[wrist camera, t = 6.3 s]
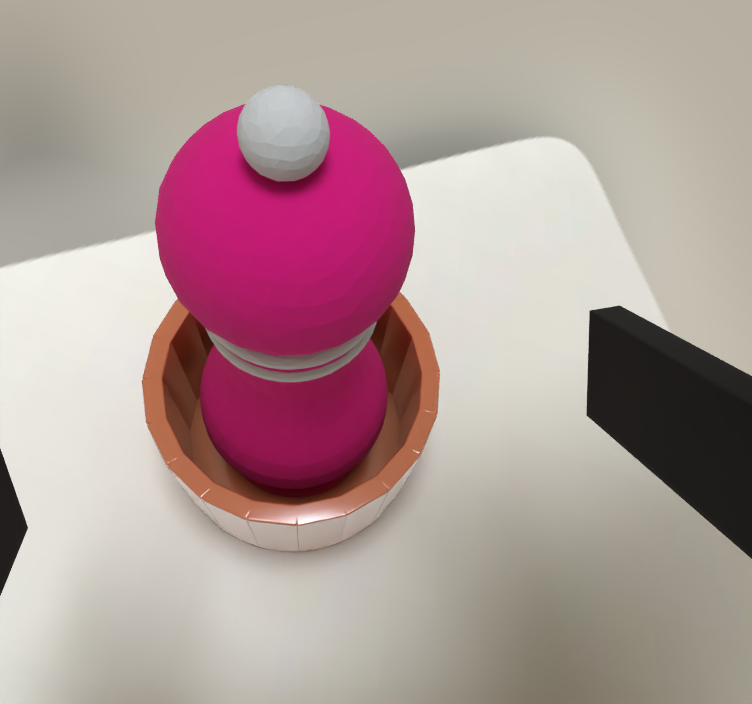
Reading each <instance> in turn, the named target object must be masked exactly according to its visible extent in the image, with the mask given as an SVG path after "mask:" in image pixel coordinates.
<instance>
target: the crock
mask: <svg viewBox="0 0 752 704" xmlns="http://www.w3.org/2000/svg"><path fill="white" fill-rule="evenodd" d="M370 339H371V340H372V342H373V344H374V345H375V347H376V349H377V351H378V353H379V355H380V357H381V360H382V363H383V365H384V368H385V372H386V378H387V384H388V393H387V408H386V415H385V419H384V424H383V427H382V429H381V432H380V434H379V437H378V439H377V440H376V442H375V444H374V445H373V447H372V448H371V450H370V451H369V452H368V454H367V455H366V456H365V457H364V458H363V459H362V460H361V462H360V463H358V464H357V465H356V466H355V467H354V468H353V469H352V470H351V471H350V472H349V474H348V475H347V476H346V477H345V478H344V479H343V480H342V481H340V482H339V483H337V484H336V485H335V486H333V487H331V488H329V489H327V490H326V491H323V492H321V493H318V494H315V495H311V496H305V497H285V496H279V495H275V494H271V493H269V492H267V491H264V490H262V489H260V488H259V487H257V486H255V485H254V484H253V483H251V482H250V481H249V480H247V479H246V478H245V476H244V475H242V474H241V473H239V472H238V471H236V470H235V469H234V468H233V467H232V466H231V465H229V464H228V463H227V462H226V461H225V460H224V459H223V458H222V456H221V455H220V454H219V453H218V451H217V450H216V449H215V447H214V445H213V444H212V442H211V440H210V438H209V436H208V434H207V430H206V427H205V424H204V421H203V417H202V412H201V402H200V383H201V377H202V372H203V369H204V366H205V364H206V361H207V358H208V356H209V353H210V351H211V349H212V347H213V346H214V343H213V342H212V341H211V339H210V337H209V335H208V333H207V331H206V329H205V327H204V326H203V325H202V324H201V323H200V322H199V321H198V320H197V319H196V318H195V317H194V316H193V315H192V314H191V313H190V312H189V311H188V310H187V309H186V308H185V307H184V306H183V305H182V304H181V303H180V301H179V299H177V301H175V303H174V304H173V306H172V307H171V309H170V310H169V312H168V314H167V315H166V317H165V318H164V320H163V321H162V323H161V324H160V326H159V328H158V329H157V331H156V332H155V334H154V335H153V339H152V342H151V346H150V350H149V354H148V358H147V362H146V366H145V370H144V374H143V380H142V387H143V397H144V407H145V417H146V423H147V427H148V429H149V431H150V433H151V435H152V437H153V439H154V441H155V443H156V445H157V447H158V450H159V452H160V454H161V456H162V458H163V460H164V462H165V464H166V465H167V467H168V468H169V470H170V471H171V472H172V473H173V475H174V476H175V477H176V479H177V480H178V481H179V483H180V484H181V485H182V487H183V488H184V489H185V491H186V492H187V493H188V495H189V496H190V497H191V498H192V500H193V501H194V502H195V504H196V505H197V506H198V507H199V508H200V509H201V510H202V511H203V512H204V513H205V514H206V515H207V516H208V517H209V518H210V519H211V520H212V521H213V522H214V523H216V524H217V525H218V526H219V527H220V528H221V529H222V530H224V531H225V532H227V533H229V534H230V535H232V536H234V537H236V538H238V539H240V540H242V541H244V542H246V543H249V544H252V545H255V546H258V547H261V548H266V549H271V550H276V551H289V552H296V551H310V550H315V549H320V548H324V547H328V546H331V545H333V544H337V543H339V542H342V541H344V540H346V539H348V538H350V537H352V536H354V535H355V534H357V533H358V532H360V531H361V530H363V529H364V528H366V527H367V526H369V525H370V524H372V522H374V521H375V520H376V519H377V518H378V517H379V516H380V515H381V513H382V512H383V511H384V510H385V509H386V508H387V506H388V505H389V504H390V503H391V502H392V500H393V499H394V498H395V497H396V496H397V495H398V493H399V491H400V490H401V488H402V486H403V484H404V483H405V481H406V479H407V478H408V476H409V474H410V473H411V471H412V469H413V467H414V466H415V464H416V462H417V461H418V459H419V457H420V455H421V454H422V451H423V449H424V446H425V444H426V441H427V439H428V437H429V434H430V432H431V429H432V427H433V425H434V422H435V420H436V417H437V413H438V397H439V380H440V373H439V372H440V370H439V366H438V363H437V359H436V356H435V352H434V348H433V345H432V341H431V338H430V334H429V332H428V330H427V329H426V327H425V326H424V324H423V323H422V321H421V320H420V318H419V317H418V315H417V314H416V312H415V311H414V309H413V308H412V306H411V305H410V303H409V302H408V300H407V299H406V298H405V297H404V295H402V294H401V293H400V292H399V294H398V296H397V297H396V298H395V300H394V301H393V302H392V303H391V305H390V306H389V307H388V308H387V310H386V311H385V312H384V313H383V315H382V316H381V317H380V318H379V320H377V323H376V326H375V328H374V331H373V333H372V335H371V337H370Z"/></svg>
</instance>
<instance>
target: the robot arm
mask: <svg viewBox="0 0 752 704" xmlns="http://www.w3.org/2000/svg"><path fill="white" fill-rule="evenodd" d="M587 416H588V417H589V418H590V419H592V420H593V421H594V422H595V423H596V424H597V425H598V426H600V427H601V428H602V429H603V430H604V431H605V432H606V433H608V434H609V435H610V436H611V437H612V438H613V439H615V440H616V441H617V442H618V443H619V444H620V445H621V446H623V447H624V448H625V449H626V450H627V451H628V452H629V453H631V454H632V455H633V456H634V457H635V458H636V459H638V460H639V461H640V462H641V463H642V464H643V465H644V466H646V467H647V468H648V469H649V470H650V471H651V472H652V473H654V474H655V475H656V476H657V477H658V478H659V479H661V480H662V481H663V482H664V483H665V484H666V485H667V486H669V487H670V488H671V489H672V490H673V491H674V492H676V493H677V494H678V495H679V496H680V497H681V498H682V499H684V500H685V501H686V502H687V503H688V504H689V505H690V506H692V507H693V508H694V509H695V510H696V511H697V512H699V513H700V514H701V515H702V516H703V517H704V518H705V519H707V520H708V521H709V522H710V523H711V524H712V525H713V526H715V527H716V528H717V529H718V530H719V531H720V532H722V533H723V534H724V535H725V536H726V537H727V538H728V539H730V540H731V541H732V542H733V543H734V544H735V545H736V546H738V547H739V548H740V549H741V550H742V551H743V552H745V553H746V554H747V555H748V556H749V557H750V558H751V559H752V376H750V375H749V374H746V373H745V372H743V371H741V370H739V369H737V368H735V367H734V366H732V365H730V364H728V363H726V362H724V361H722V360H720V359H719V358H717V357H715V356H713V355H711V354H709V353H707V352H706V351H704V350H702V349H700V348H698V347H696V346H694V345H692V344H691V343H689V342H687V341H685V340H683V339H681V338H679V337H677V336H676V335H674V334H672V333H670V332H668V331H666V330H664V329H662V328H661V327H659V326H657V325H655V324H653V323H651V322H649V321H647V320H646V319H644V318H642V317H640V316H638V315H636V314H634V313H632V312H631V311H629V310H627V309H625V308H623V307H621V306H614V307H609V308H603V309H597V310H591V311H590V320H589V353H588V385H587ZM27 529H28V527H27V524H26V521H25V518H24V515H23V512H22V509H21V506H20V504H19V501H18V498H17V495H16V492H15V489H14V486H13V483H12V481H11V478H10V475H9V472H8V469H7V466H6V463H5V461H4V458H3V455H2V452H1V449H0V595H1V593H2V590H3V588H4V585H5V583H6V581H7V578H8V576H9V573H10V571H11V568H12V566H13V563H14V561H15V558H16V556H17V553H18V551H19V548H20V546H21V544H22V541H23V539H24V536H25V534H26V531H27Z"/></svg>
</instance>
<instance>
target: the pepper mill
mask: <svg viewBox="0 0 752 704" xmlns="http://www.w3.org/2000/svg"><path fill="white" fill-rule="evenodd" d="M155 225H156V234H157V241H158V249H159V256H160V260H161V263H162V266H163V269H164V272H165V275H166V277H167V279H168V281H169V283H170V285H171V286H172V288H173V290H174V292H175V294H176V295H177V297H178V299H179V301H180V303H181V304H182V305H183V306H184V307H185V308H186V309H187V310H188V311H189V312H190V313H191V314H192V315H193V316H194V317H195V318H196V319H197V320H198V321H199V322H200V323H201V324H202V325H203V326H204V327H205V329H206V331H207V333H208V335H209V337H210V339H211V341H212V342H213V343H214V346H213V347H212V349H211V351H210V353H209V356H208V358H207V361H206V364H205V366H204V369H203V372H202V377H201V383H200V402H201V412H202V417H203V421H204V424H205V427H206V430H207V434H208V436H209V438H210V440H211V442H212V444H213V445H214V447H215V449H216V450H217V451H218V453H219V454H220V455H221V456H222V458H223V459H224V460H225V461H226V462H227V463H228V464H229V465H231V466H232V467H233V468H234V469H235V470H236V471H238V472H239V473H241V474H242V475H244V476H245V478H246V479H247V480H249V481H250V482H251V483H253V484H254V485H255V486H257V487H259V488H260V489H262V490H264V491H267V492H269V493H271V494H275V495H279V496H285V497H305V496H311V495H315V494H318V493H321V492H323V491H326V490H327V489H329V488H331V487H333V486H335V485H336V484H337V483H339V482H340V481H342V480H343V479H344V478H345V477H346V476H347V475H348V474H349V472H350V471H351V470H352V469H353V468H354V467H355V466H356V465H357V464H358V463H360V462H361V460H362V459H363V458H364V457H365V456H366V455H367V454H368V452H369V451H370V450H371V448H372V447H373V445H374V444H375V442H376V440H377V439H378V437H379V434H380V432H381V429H382V427H383V424H384V419H385V415H386V408H387V393H388V384H387V378H386V372H385V368H384V365H383V363H382V360H381V357H380V355H379V353H378V351H377V349H376V347H375V345H374V344H373V342H372V340H371V339H370V337H371V335H372V333H373V331H374V328H375V326H376V323H377V320H379V318H380V317H381V316H382V315H383V313H384V312H385V311H386V310H387V308H388V307H389V306H390V305H391V303H392V302H393V301H394V300H395V298H396V297H397V296H398V294H399V292H400V289H401V287H402V285H403V283H404V281H405V278H406V275H407V271H408V268H409V265H410V261H411V258H412V255H413V245H414V235H415V225H414V213H413V203H412V200H411V197H410V194H409V190H408V187H407V184H406V181H405V178H404V176H403V175H402V173H401V171H400V169H399V167H398V165H397V163H396V162H395V160H394V159H393V157H392V156H391V154H390V153H389V151H388V150H387V149H386V147H385V146H384V145H383V144H382V143H381V142H380V141H379V140H378V139H377V138H376V137H375V136H374V135H373V134H372V133H371V132H370V131H369V130H367V129H366V128H365V127H363V126H362V125H361V124H359V123H358V122H356V121H355V120H353V119H351V118H349V117H347V116H345V115H343V114H341V113H339V112H337V111H335V110H333V109H331V108H328V107H325V106H322V105H319V104H318V103H317V101H316V100H315V99H314V98H313V97H312V96H310V95H309V94H308V93H306V92H304V91H302V90H300V89H298V88H296V87H291V86H287V85H279V86H271V87H267V88H265V89H264V90H262V91H260V92H258V93H256V94H255V95H254V96H253V97H252V98H251V99H250V100H249V101H248V102H247V103H246V104H244V105H241V106H239V107H236V108H234V109H231V110H229V111H226V112H223V113H222V114H220V115H219V116H217V117H216V118H214V119H212V120H211V121H209V122H208V123H206V124H205V125H203V126H202V127H201V128H200V129H199V130H198V131H197V132H196V133H194V134H193V135H192V136H191V137H190V138H189V139H188V141H187V142H186V143H185V144H184V145H183V146H182V148H181V149H180V151H179V152H178V153H177V154H176V156H175V157H174V159H173V161H172V162H171V164H170V166H169V169H168V171H167V173H166V175H165V177H164V180H163V182H162V184H161V186H160V189H159V196H158V204H157V211H156V219H155Z"/></svg>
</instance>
